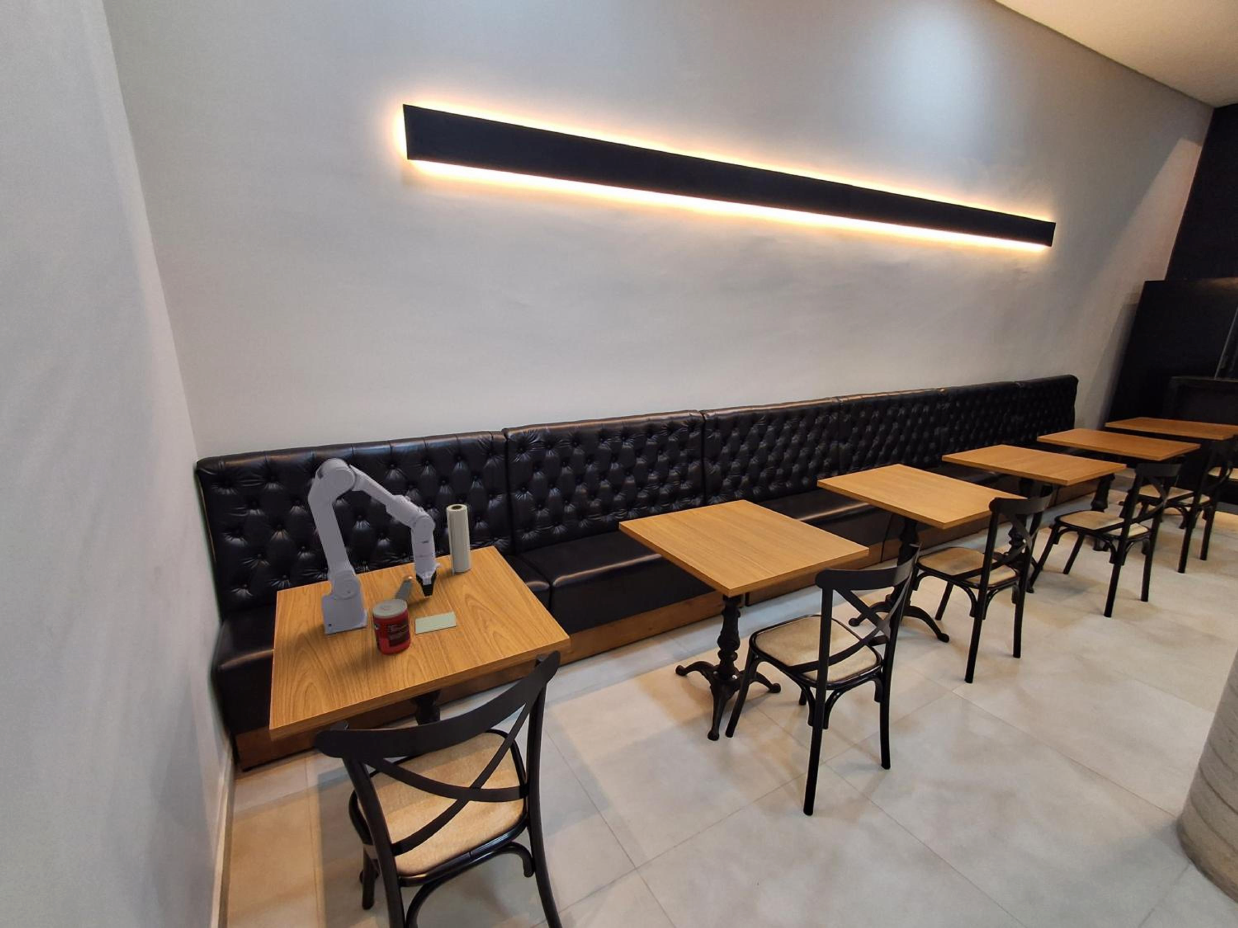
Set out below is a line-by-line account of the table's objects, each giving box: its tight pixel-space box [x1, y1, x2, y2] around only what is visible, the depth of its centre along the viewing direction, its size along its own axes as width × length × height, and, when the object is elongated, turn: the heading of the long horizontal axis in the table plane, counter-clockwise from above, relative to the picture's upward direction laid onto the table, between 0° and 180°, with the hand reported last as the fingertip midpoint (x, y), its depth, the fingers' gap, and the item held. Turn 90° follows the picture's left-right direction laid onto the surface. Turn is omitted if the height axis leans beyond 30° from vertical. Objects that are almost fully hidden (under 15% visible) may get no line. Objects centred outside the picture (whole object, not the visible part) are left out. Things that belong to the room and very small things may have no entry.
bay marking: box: [414, 611, 457, 635], centre depth 135 cm, size 10×7×1 cm
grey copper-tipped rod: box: [393, 574, 415, 603], centre depth 143 cm, size 18×3×3 cm, turn 8°
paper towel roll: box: [445, 503, 472, 576], centre depth 160 cm, size 7×6×21 cm
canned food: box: [371, 598, 412, 656], centre depth 124 cm, size 8×8×11 cm
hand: (428, 594), depth 146 cm, fingers closed
